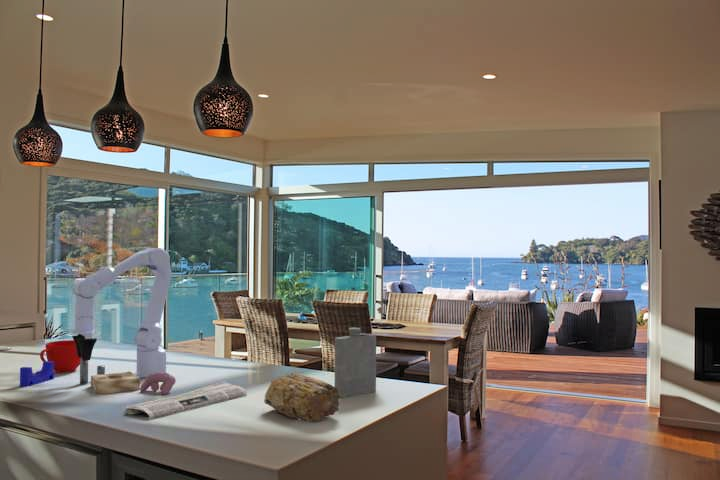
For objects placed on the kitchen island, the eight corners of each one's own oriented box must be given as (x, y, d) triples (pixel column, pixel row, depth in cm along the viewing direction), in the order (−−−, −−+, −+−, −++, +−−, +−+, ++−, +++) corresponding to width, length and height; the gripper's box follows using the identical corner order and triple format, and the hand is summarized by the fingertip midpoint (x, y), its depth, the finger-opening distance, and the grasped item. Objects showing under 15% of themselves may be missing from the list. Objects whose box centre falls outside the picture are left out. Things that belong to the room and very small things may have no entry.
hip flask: (339, 399, 183) (339, 330, 184) (330, 396, 186) (330, 329, 187) (378, 391, 194) (378, 326, 195) (368, 389, 197) (369, 325, 198)
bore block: (130, 382, 205) (130, 371, 205) (139, 389, 195) (139, 378, 195) (90, 386, 198) (91, 375, 198) (98, 394, 188) (99, 382, 188)
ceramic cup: (26, 374, 217) (27, 345, 217) (66, 366, 233) (66, 339, 233) (54, 377, 212) (55, 348, 212) (93, 369, 228) (93, 341, 228)
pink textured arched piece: (173, 397, 191) (179, 375, 194) (165, 393, 187) (171, 370, 190) (146, 395, 194) (152, 372, 197) (137, 391, 190) (144, 368, 194)
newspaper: (149, 421, 160) (149, 407, 160) (120, 414, 167) (120, 401, 167) (249, 396, 189) (249, 384, 189) (221, 391, 196) (221, 379, 196)
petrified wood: (346, 416, 163) (340, 380, 161) (305, 436, 155) (299, 398, 153) (304, 400, 178) (298, 366, 176) (265, 417, 170) (259, 382, 168)
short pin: (103, 378, 211) (104, 365, 211) (105, 379, 209) (105, 366, 209) (96, 379, 210) (96, 366, 210) (97, 380, 208) (97, 367, 208)
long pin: (87, 382, 204) (87, 358, 204) (88, 384, 202) (88, 359, 202) (79, 383, 203) (79, 358, 203) (80, 384, 201) (80, 359, 201)
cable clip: (41, 379, 211) (42, 361, 211) (53, 379, 210) (53, 361, 210) (15, 386, 199) (16, 367, 199) (28, 387, 198) (28, 368, 198)
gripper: (67, 315, 207) (66, 356, 207) (75, 319, 195) (74, 363, 195) (90, 314, 211) (89, 354, 210) (99, 318, 199) (98, 361, 198)
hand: (84, 358), depth 203 cm, fingers open, 7 cm apart
